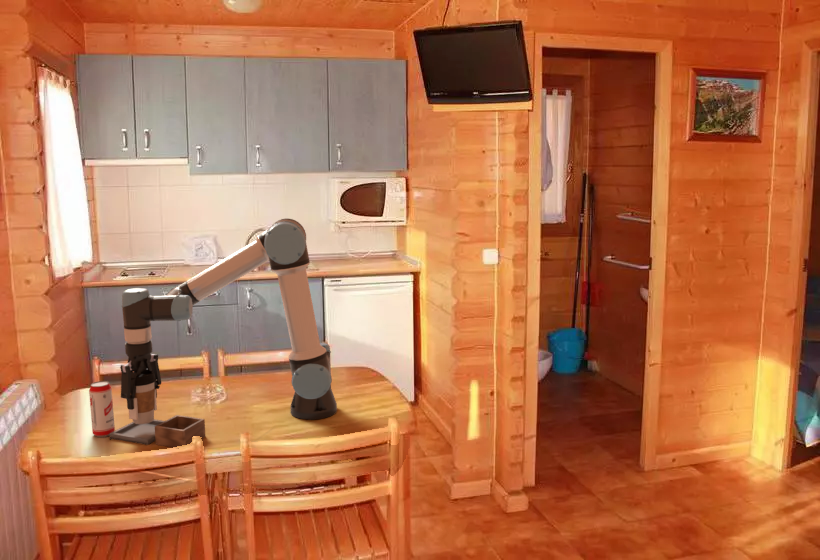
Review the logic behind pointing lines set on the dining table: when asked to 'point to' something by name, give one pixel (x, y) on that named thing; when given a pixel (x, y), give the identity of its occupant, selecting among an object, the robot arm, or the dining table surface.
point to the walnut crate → (179, 431)
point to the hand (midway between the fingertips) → (143, 414)
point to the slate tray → (136, 432)
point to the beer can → (101, 408)
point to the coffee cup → (145, 397)
